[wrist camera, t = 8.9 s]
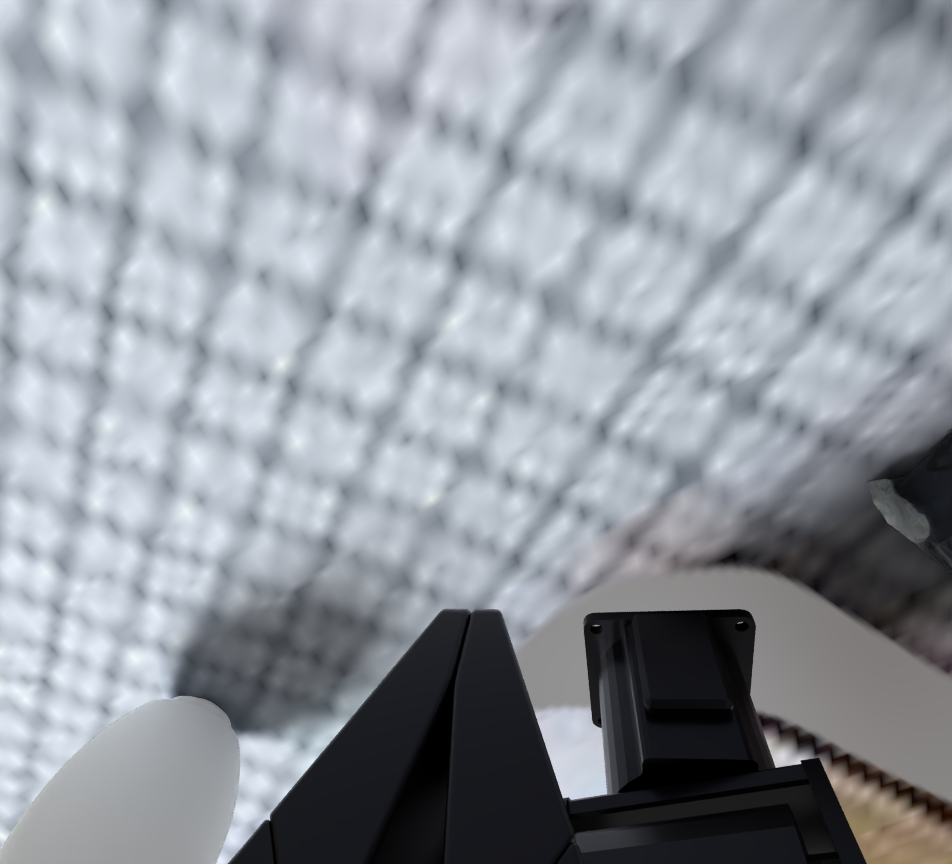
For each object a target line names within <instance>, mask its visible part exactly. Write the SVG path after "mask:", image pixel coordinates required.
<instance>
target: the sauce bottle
mask: <svg viewBox="0 0 952 864" xmlns="http://www.w3.org/2000/svg"><path fill="white" fill-rule="evenodd" d="M239 775H240V747H239V741H238V739H237V736H236V734H235V732H234V731H233V730H232V728H231V722H230V720H229V717H228V716H227V715H226V713H225V712H224V711H223V710H221V709H220V708H219V707H218V706H217V705H216V704H214V703H213V702H211V701H208V700H206V699H202V698H197V697H192V696H177V697H175V698H172V699H171V700H169V699H161V700H154V701H151V702H149V703H146V704H144V705H142V706H140V707H138V708H136V709H134V710H133V711H131V712H129V713H127V714H126V715H124V716H122V717H121V718H119V719H118V720H116V721H115V722H113V723H112V724H110V725H109V726H108V727H106V728H105V729H104V730H102V731H101V732H100V733H99V734H97V735H96V736H95V737H94V738H93V739H91V740H90V741H89V742H88V743H87V744H85V745H84V746H83V747H82V748H81V749H80V750H79V751H78V752H77V753H76V754H75V755H74V756H73V757H72V758H71V759H70V760H69V761H68V762H67V763H66V764H65V765H64V766H63V767H62V768H61V769H60V770H59V771H58V772H57V773H56V774H55V775H54V777H53V778H52V779H51V780H50V781H49V782H48V784H47V785H46V786H45V787H44V788H43V790H42V791H41V792H40V793H39V795H38V796H37V797H36V798H35V800H34V801H33V802H32V804H31V805H30V806H29V808H28V809H27V810H26V812H25V813H24V814H23V816H22V817H21V819H20V820H19V821H18V823H17V824H16V826H15V827H14V829H13V830H12V832H11V833H10V835H9V836H8V838H7V839H6V841H5V842H4V844H3V845H2V847H1V849H0V864H216V862H217V859H218V857H219V855H220V852H221V850H222V847H223V844H224V842H225V839H226V836H227V833H228V830H229V827H230V824H231V820H232V817H233V813H234V808H235V804H236V798H237V792H238V784H239Z"/></svg>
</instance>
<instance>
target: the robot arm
mask: <svg viewBox="0 0 952 864" xmlns="http://www.w3.org/2000/svg"><path fill="white" fill-rule="evenodd" d="M738 622H743V623H740V624H737V623H738ZM583 623H584V636H585V647H586V658H587V668H588V679H589V689H590V700H591V711H592V721H593V723H594V724H595V725H596V726H597V727H600V728H602V735H603V747H604V760H605V772H606V785H607V795H600V796H594V797H588V798H581V799H575V800H570V798H569V797H568V798H562V794H561V791H560V788H559V785H558V782H557V779H556V776H555V773H554V770H553V767H552V764H551V761H550V758H549V755H548V752H547V749H546V746H545V743H544V740H543V737H542V734H541V731H540V728H539V725H538V722H537V719H536V716H535V713H534V710H533V707H532V704H531V701H530V698H529V695H528V691H527V689H526V685H525V682H524V679H523V676H522V673H521V670H520V667H519V664H518V661H517V658H516V655H515V652H514V649H513V646H512V643H511V640H510V637H509V634H508V631H507V628H506V625H505V622H504V619H503V616H502V613H501V612H500V611H499V610H496V609H475V610H474V611H473V612H472V613H471V611H469V610H468V609H444V610H442V611H441V612H440V613H439V614H438V615H437V616H436V617H435V618H434V620H433V621H432V622H431V623H430V624H429V626H428V627H427V628H426V629H425V630H424V632H423V633H422V634H421V635H420V636H419V638H418V639H417V640H416V641H415V642H414V644H413V645H412V646H411V647H410V648H409V649H408V651H407V652H406V653H405V654H404V655H403V657H402V658H401V659H400V660H399V661H398V663H397V664H396V665H395V666H394V667H393V669H392V670H391V671H390V672H389V673H388V674H387V676H386V677H385V678H384V679H383V680H382V682H381V683H380V684H379V685H378V686H377V688H376V689H375V690H374V691H373V692H372V694H371V695H370V696H369V697H368V698H367V700H366V701H365V702H364V703H363V704H362V705H361V707H360V708H359V709H358V710H357V711H356V713H355V714H354V715H353V716H352V717H351V719H350V720H349V721H348V722H347V723H346V725H345V726H344V727H343V728H342V729H341V730H340V732H339V733H338V734H337V735H336V736H335V738H334V739H333V740H332V741H331V742H330V744H329V745H328V746H327V747H326V748H325V750H324V751H323V752H322V753H321V754H320V755H319V757H318V758H317V759H316V760H315V761H314V763H313V764H312V765H311V766H310V767H309V769H308V770H307V771H306V772H305V773H304V775H303V776H302V777H301V778H300V779H299V781H298V782H297V783H296V784H295V785H294V786H293V788H292V789H291V790H290V791H289V792H288V794H287V795H286V796H285V797H284V798H283V800H282V801H281V802H280V803H279V804H278V806H277V807H276V808H275V809H274V810H273V811H272V813H271V814H270V821H269V820H265V821H264V822H263V823H262V824H261V825H260V827H259V828H258V829H257V830H256V831H255V833H254V834H253V835H252V836H251V837H250V838H249V840H248V841H247V842H246V843H245V844H244V846H243V847H242V848H241V849H240V850H239V851H238V853H237V854H236V855H235V856H234V857H233V858H232V859H231V861H230V862H229V863H228V864H867V863H866V861H865V859H864V857H863V855H862V852H861V850H860V848H859V846H858V843H857V841H856V839H855V837H854V835H853V832H852V830H851V828H850V826H849V823H848V821H847V819H846V817H845V815H844V812H843V810H842V808H841V806H840V803H839V801H838V799H837V797H836V795H835V792H834V790H833V788H832V786H831V783H830V781H829V779H828V777H827V775H826V772H825V770H824V768H823V766H822V763H821V761H820V759H819V758H814V759H808V760H801V763H802V764H798V765H791V766H785V767H779V768H775V765H774V762H773V759H772V756H771V753H770V750H769V748H768V745H767V742H766V739H765V736H764V733H763V730H762V728H761V725H760V722H759V719H758V716H757V713H756V711H755V708H754V705H753V702H752V699H751V696H750V689H751V677H752V664H753V653H754V641H755V629H756V625H755V622H754V619H753V617H752V615H751V614H750V612H748V611H746V610H740V609H731V610H691V611H652V612H651V611H648V612H608V613H607V612H606V613H591V614H589V615H587V616H586V617H585V618H584V622H583ZM593 625H600V626H597V627H595V626H593Z"/></svg>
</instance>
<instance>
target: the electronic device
mask: <svg viewBox="0 0 952 864" xmlns="http://www.w3.org/2000/svg"><path fill="white" fill-rule="evenodd" d="M866 484H867V486H868V488H869V491H870V493H871V495H872V500H873V502H874V504H875V505H876V507H877V508H878V510H879V511H880V512H881V513H882V515H883V516H884V518H885V519H886V521H887V523H888V524H889V525H891V526H892V527H894V528H895V529H897V530H898V531H899V532H901V533H902V534H903V535H904V536H906V537H907V538H908V539H910V540H911V541H912V542H913V543H914V544H916V545H917V546H918V547H919V548H920V549H921V550H922V551H924V552H925V553H926V554H927V555H928V556H929V557H931V558H932V559H933V560H934V561H935V562H936V563H937V564H939V565H940V566H941V567H943V568H944V569H945V570H947V571H948V572H949V573H950V574H952V433H951V434H949V435H948V436H947V437H946V438H945V439H944V441H943V442H942V443H941V444H940V446H939V447H938V448H937V450H936V451H934V452H933V453H932V454H930V455H928V456H926V457H925V458H924V459H923V460H922V461H921V462H920V463H919V464H918V465H917V466H916V467H915V468H913V469H912V470H911V471H910V472H908V473H907V474H906V475H905V476H902V477H898V478H895V479H891V480H888V479H881V480H874V481H869V482H866Z"/></svg>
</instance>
